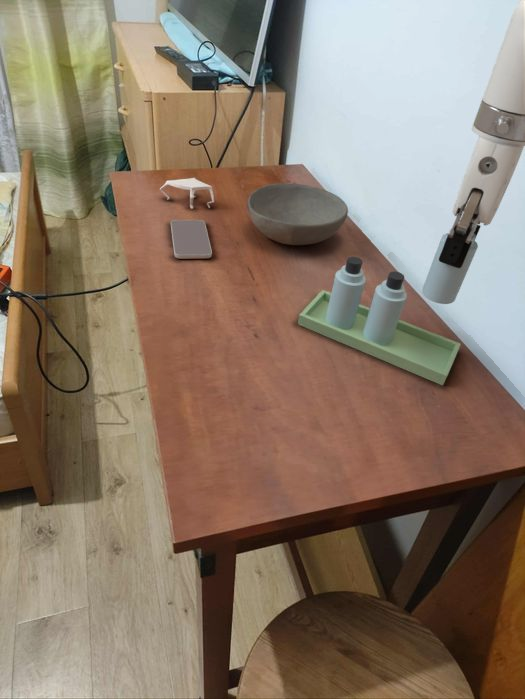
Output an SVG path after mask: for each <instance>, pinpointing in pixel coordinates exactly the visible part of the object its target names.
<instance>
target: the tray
mask: <svg viewBox="0 0 525 699" xmlns="http://www.w3.org/2000/svg"><path fill="white" fill-rule="evenodd" d="M330 296H331V292H330V291H327V290H325V289H321V291H320V292H318V294H317V295H316V296H314V298H313V299H312V300H311V302H310V303H308V305H307V306H306V307H305V308H304V309H303V310H302V311H301V312H300V314H299V315H298V320H297V325H298V326H301V327H303V328H305V329H308V330H309V331H312V332H315V333H317V334H320V335H321V336H324V337H327V338H329V339H332V340H334V341H336V342H339V343H340V344H343V345H346V346H348V347H350V348H353V349H355V350H357V351H360V352H362V353H365V354H366V355H370V356H372V357H374V358H376V359H379V360H380V361H383V362H385V363H388V364H391V365H392V366H395V367H397V368H400V369H402V370H405V371H407V372H409V373H412V374H414V375H417V376H419V377H421V378H424V379H426V380H429V381H431V382H432V383H434V384H435V383H436V384H438V385H440V386H443V387H444V384H445V383H446V380H447V379H448V376H449V373H450V371H451V368H452V366H453V364H454V362H455V359H456V357H457V354H458V352H459V350H460V348H461V346H462V343H460V342H457V341H455V340H452V339H451V338H447V337H445V336H442V335H440V334H437V333H435V332H432V331H429V330H426V329H424V328H422V327H419V326H417V325H414V324H412V323H410V322H407V321H404V320H401V319H399V321H398V324H397V327H396V330H395V333H394V335H393V338H392V341H391V342H390V343H389V344H387V345H378V344H376V343H374V342H371V341H369V340H366V339H365V338H364V336H363V330H364V327H365V323H366V320H367V317H368V313H369V310H370V307H368V306H366V305H363V304H361V303H360V304H359V307H358V311H357V314H356V318H355V322H354V325H353V326H352V327H351V328H349V329H340V328H337V327H335V326H333V325H330V324H328V323H327V322H326V314H327V309H328V305H329V301H330Z"/></svg>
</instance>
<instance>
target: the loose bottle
mask: <svg viewBox="0 0 525 699" xmlns="http://www.w3.org/2000/svg"><path fill="white" fill-rule="evenodd" d="M472 225H473V224H472V223H470V224H469V227H470V229H471V227H472ZM451 230H452V228H450V229H449V231H448V232H447V233H444V234H442V236H441V238H440V241H439V243H438V246H437V249H436V252H435V254H434V257H433V259H432V262H431V264H430V267H429V271H428V272H427V276H426V277H425V281H424V284H423V286H422V289H421V292H422V295H423V296H424V297H425V298H426V299H428V300H429V301H431V302H434V303H436V304H442V305H450V304H452V303H454V302H455V301H456V300H457V297H458V294H459V292H460V290H461V287H462V285H463V284H464V280H465V278H466V276H467V273H468V271H469V268H470V267H471V264H472V262H473V259H474V257H475V256H476V255H475V254H476V252H477V250H478V248H479V245H478V242H476V240H477V236H476V235H475V234H473V236H472V238H471V241H472V244H471V246H470V248H469V251H468V253H467V256H466V258H465V260H464V263H463V265H462V267H461V268H456V267H453V266H450V265H448V264H445V263H442V262H440V261H439V257H440V255H441V252H442V249H443V247H444V244H445V241H446V239H447V236H448V234H450V232H451Z"/></svg>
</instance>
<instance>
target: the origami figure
mask: <svg viewBox="0 0 525 699" xmlns="http://www.w3.org/2000/svg"><path fill="white" fill-rule="evenodd" d="M168 186H169V187H170V186H171V187H174V188H177V189H182V190H186V191H190V192H189V208H190V209H191V210H192V209H194V198H197V196H196V195H194V194H195V193H196V191H206V190H208V193H209V195H210V198H211V201H209V202H206V206H207V207H208V209H211V206H210V204H212V203H215V199H214V198H215V197H214V192H213V186H212V185H209V184H207V183H205V182H202V181H200V180H198V179H196V177H191V178H180V179H171V180H166V181H165V183H164V184H163V185H162V186H161V187H160V188H159V191H160V192H161V193H162V194H163V195H164V196H165V197H166V200H168V201H170V200H171V197H170V196H169V195H168V194H167V193H166V192H165V191H164V189H165V188H167V187H168Z"/></svg>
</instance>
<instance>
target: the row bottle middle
mask: <svg viewBox="0 0 525 699" xmlns="http://www.w3.org/2000/svg"><path fill="white" fill-rule="evenodd" d="M404 281H405V275H404V273H402V272H399V271H396V270H395V271H394V270H393V271H390V272H389V273H388V276H387V279H385V280H383V281H382V282H381V283H380V284H378V285H377V286H376V287H375V289H374V293H373V297H372V300H371V302H370V305H369V306H370V307H369V308H370V310H369V313H368V317H367V320H366V323H365V327H364V330H363V336H364V338H365V339H366V340H369V341H371V342H374V343H376V344H378V345H387V344H389V343H390V342H391V341H392V338H393V335H394V333H395V330H396V327H397V324H398V321H399V320H400V319H401V315H402V312H403V310H404V306H405V304H406V301H407V298H408V293H407V291H406V287H405V285H404V284H403V283H404Z"/></svg>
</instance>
